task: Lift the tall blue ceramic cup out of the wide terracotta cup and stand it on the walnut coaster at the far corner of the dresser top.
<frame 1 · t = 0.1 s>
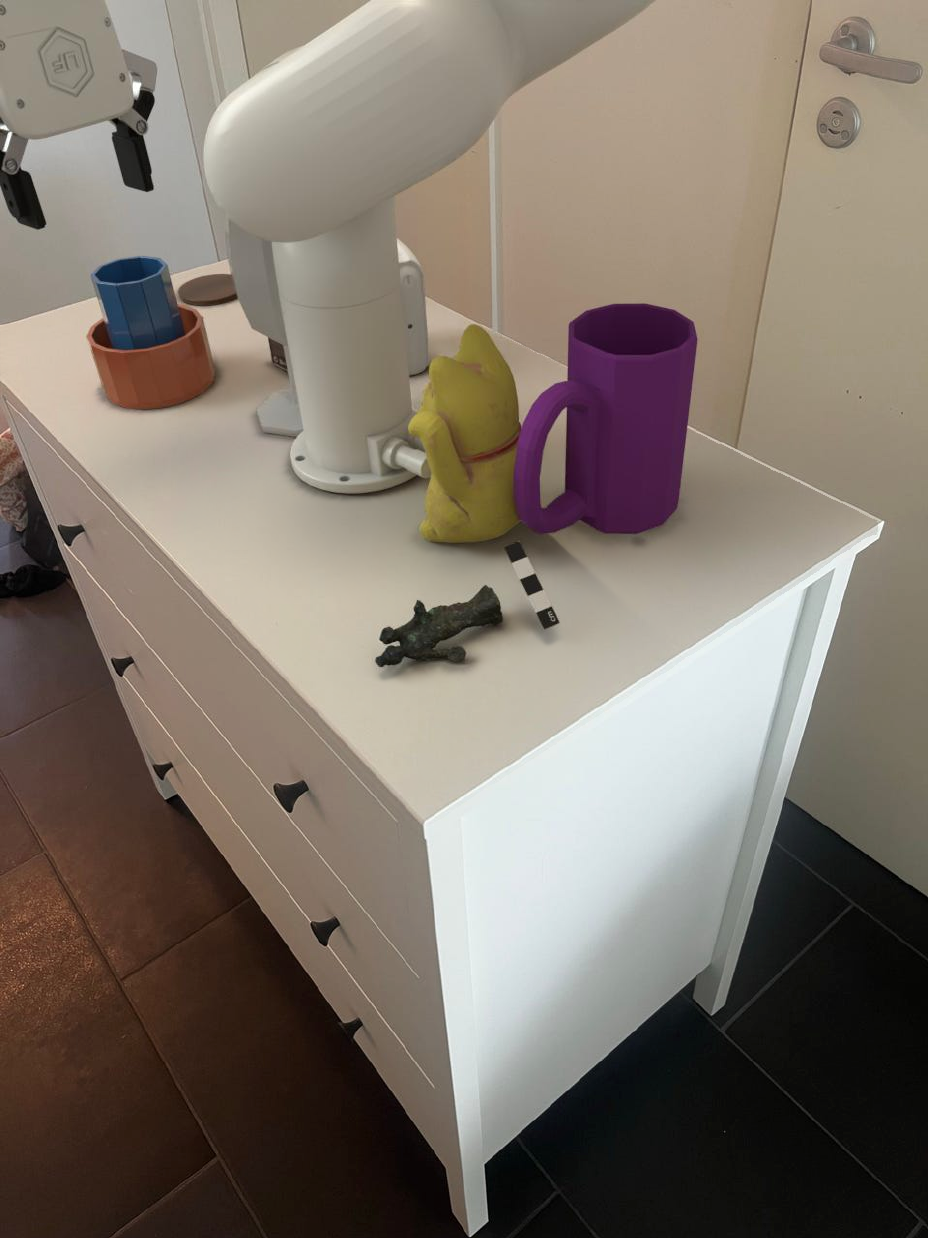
hand: (87, 206, 75), 21 cm above the dresser, tool pointing down, fingers open, 9 cm apart
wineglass: (303, 417, 92), on the dresser, touching arm
terracotta cup: (160, 382, 98), on the dresser
photo printer: (395, 357, 100), on the dresser
coaster: (213, 291, 115), on the dresser
figurine 2: (485, 528, 76), on the dresser, touching mug
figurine: (468, 649, 66), on the dresser
blue cup: (159, 377, 98), point 1 cm above the dresser, touching terracotta cup
box: (307, 362, 100), on the dresser
mug: (592, 523, 76), on the dresser, touching figurine 2
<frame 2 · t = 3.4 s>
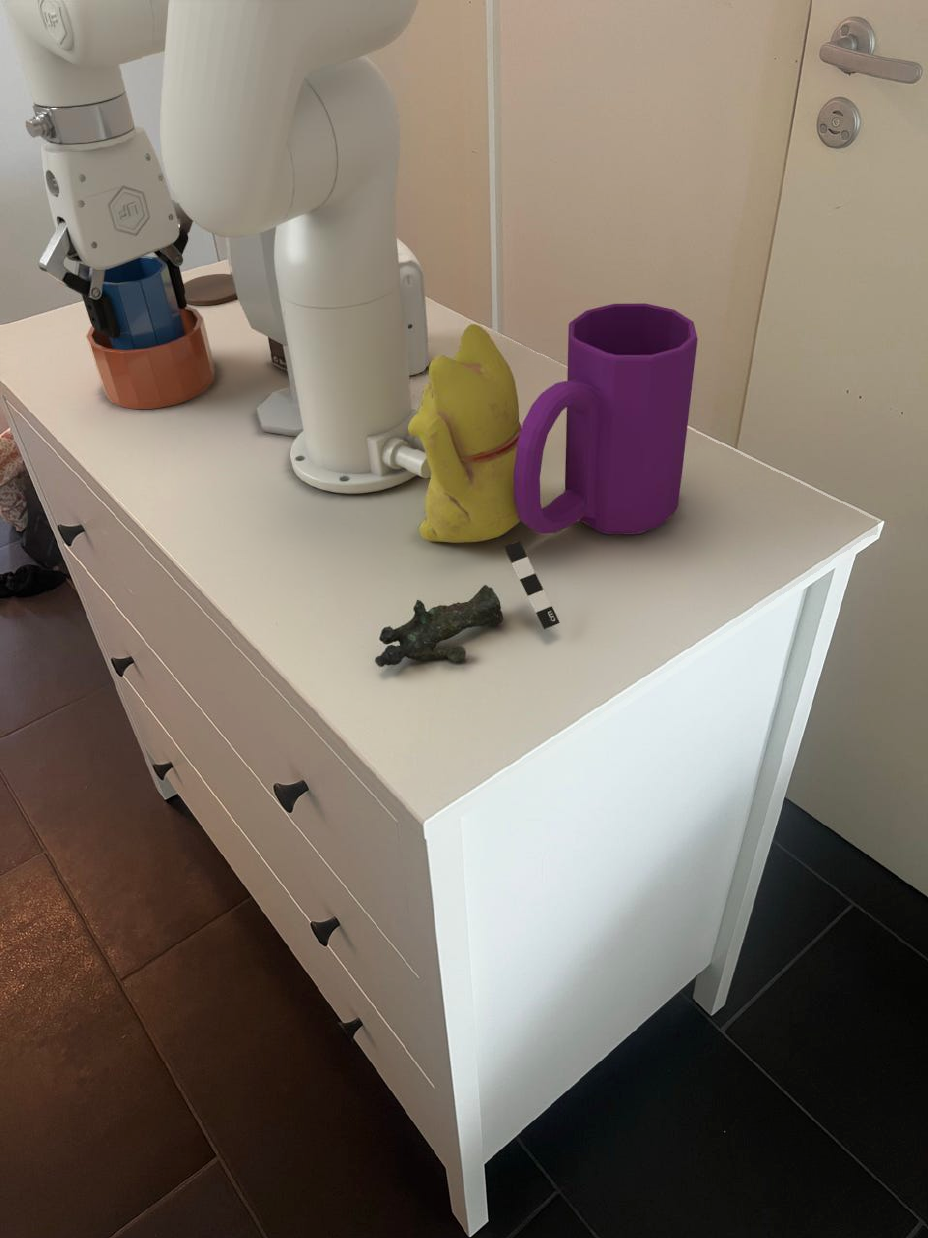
hand: (142, 317, 94), 7 cm above the dresser, tool pointing down, fingers closed on blue cup, 7 cm apart
blue cup: (159, 376, 98), point 1 cm above the dresser, touching gripper, terracotta cup
everything else where it was.
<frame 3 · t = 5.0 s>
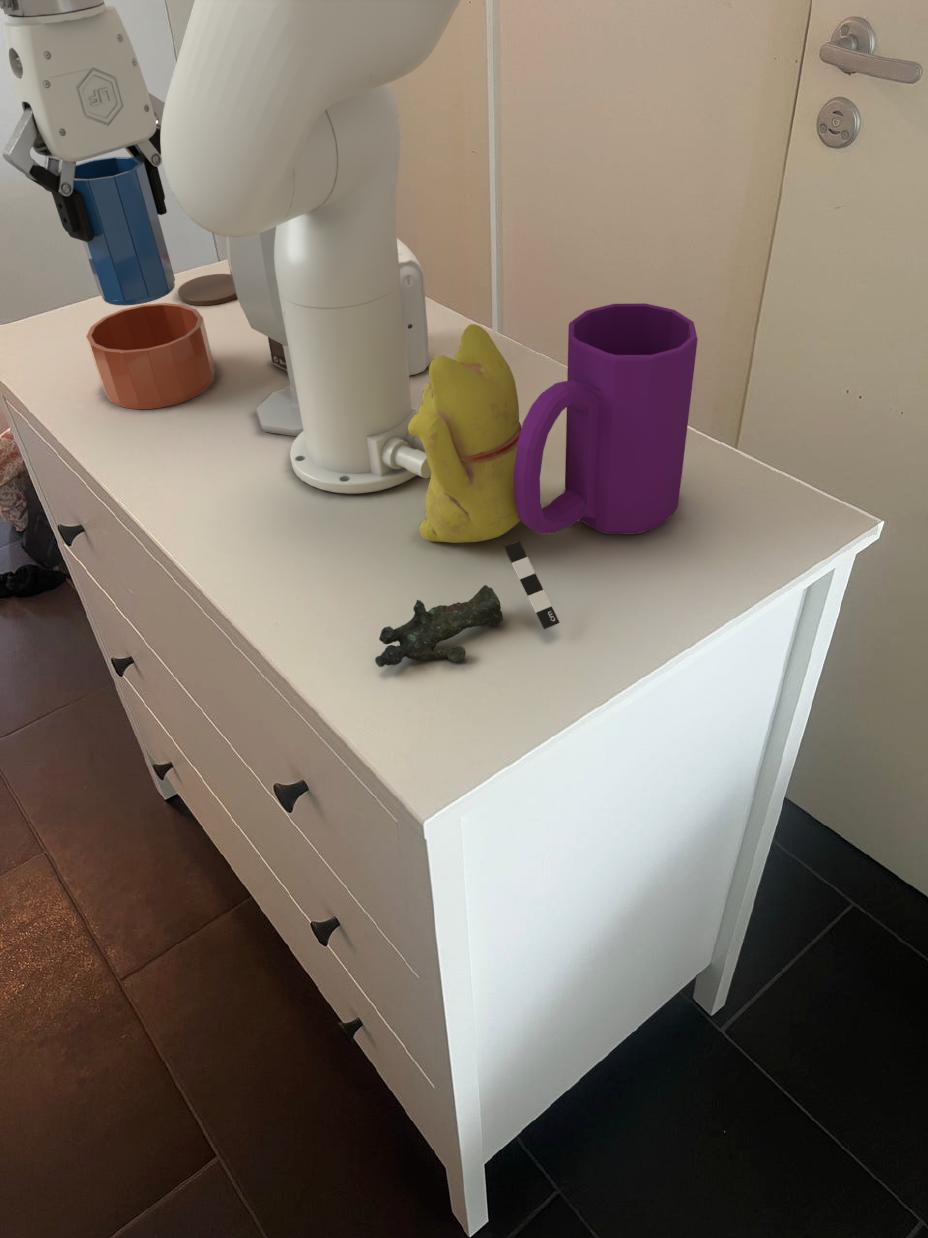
hand: (118, 223, 87), 16 cm above the dresser, tool pointing down, fingers closed on blue cup, 7 cm apart
blue cup: (138, 291, 91), point 10 cm above the dresser, touching gripper
everything else where it was.
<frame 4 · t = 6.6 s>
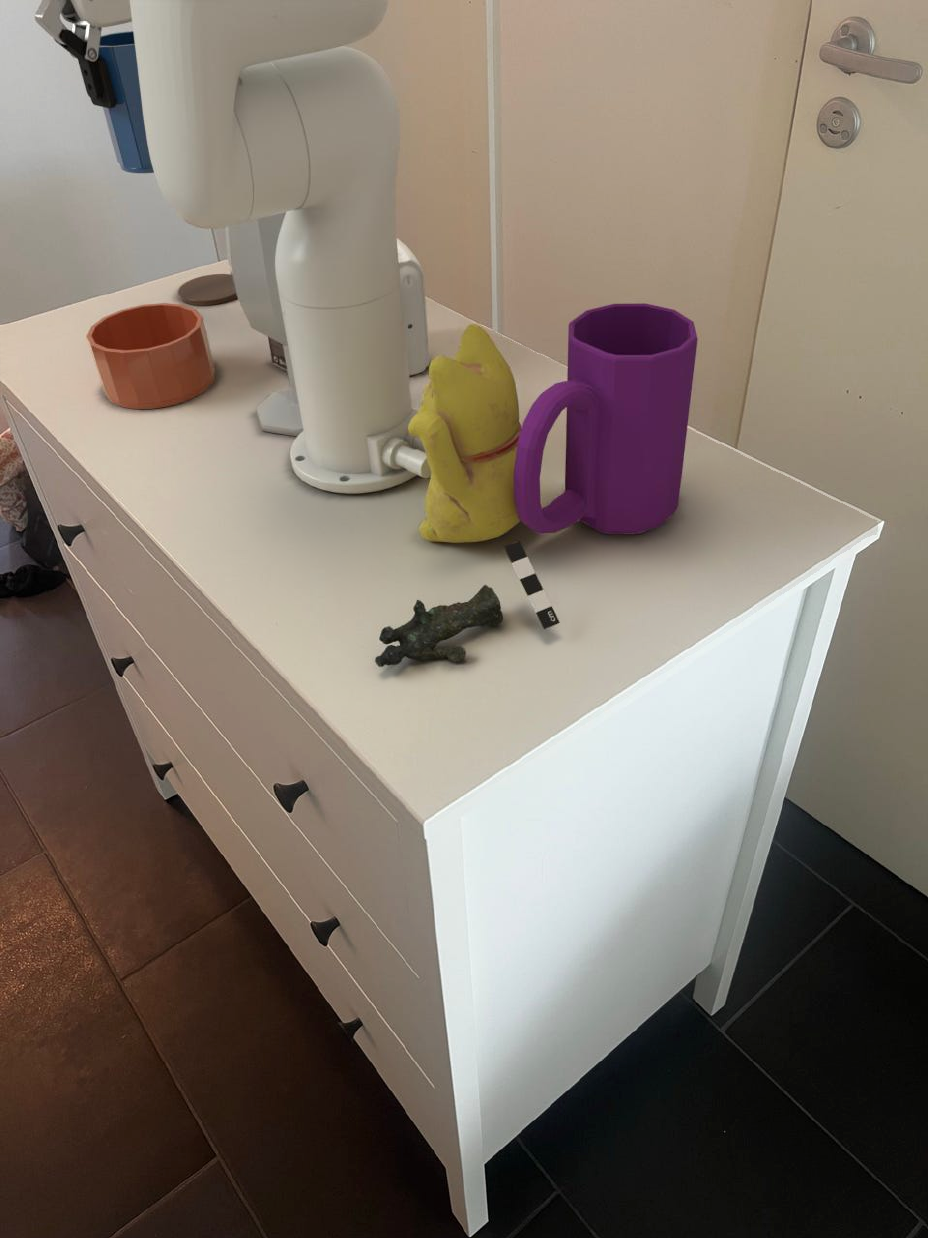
hand: (138, 94, 94), 23 cm above the dresser, tool pointing down, fingers closed on blue cup, 7 cm apart
blue cup: (154, 162, 98), point 17 cm above the dresser, touching gripper
everything else where it was.
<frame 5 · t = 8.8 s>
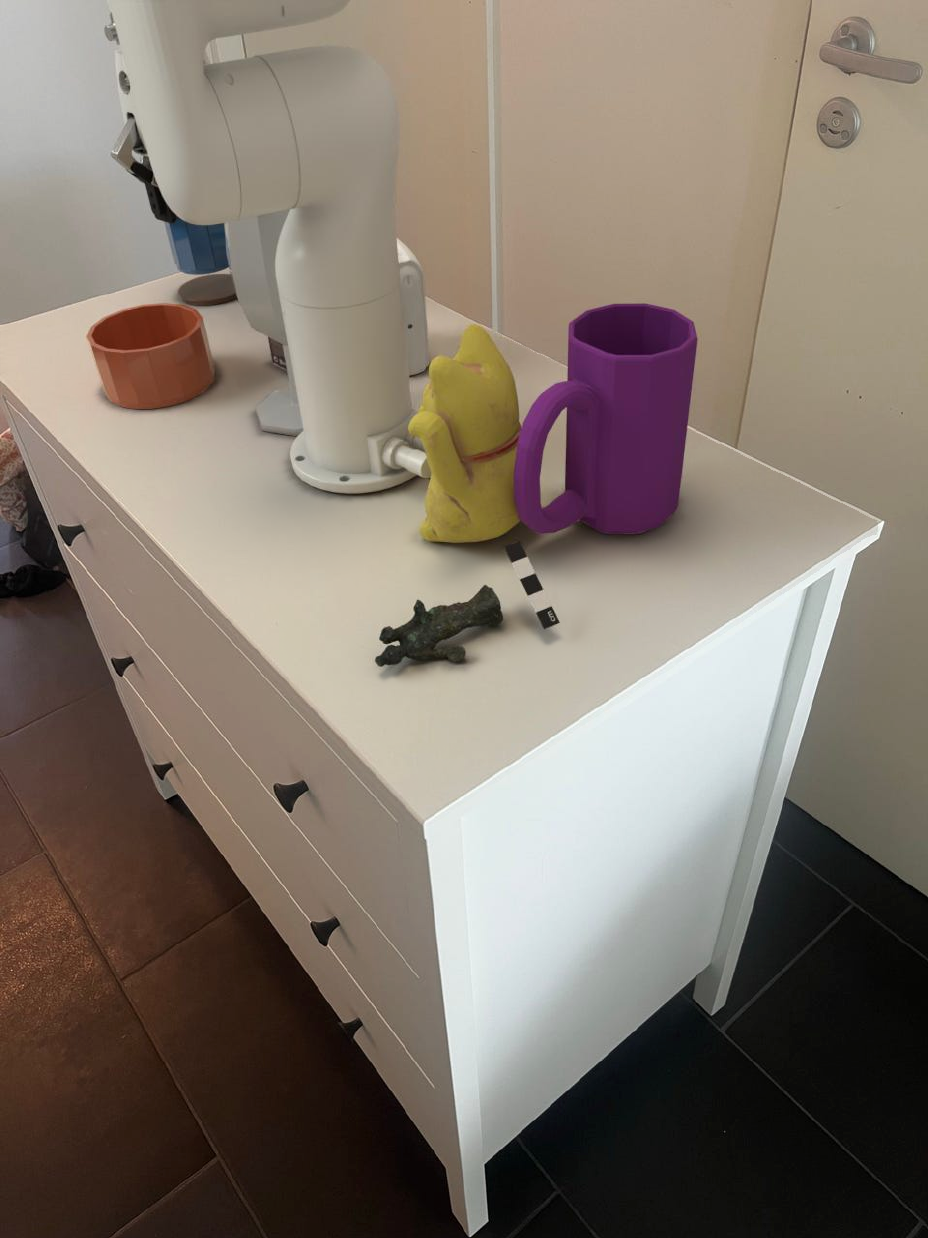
hand: (194, 208, 109), 10 cm above the dresser, tool pointing down, fingers closed on blue cup, 7 cm apart
blue cup: (206, 263, 113), point 3 cm above the dresser, touching gripper
everything else where it was.
when the fingers open (7 cm above the dresser, at t = 10.2 s): blue cup stays where it is, resting on coaster.
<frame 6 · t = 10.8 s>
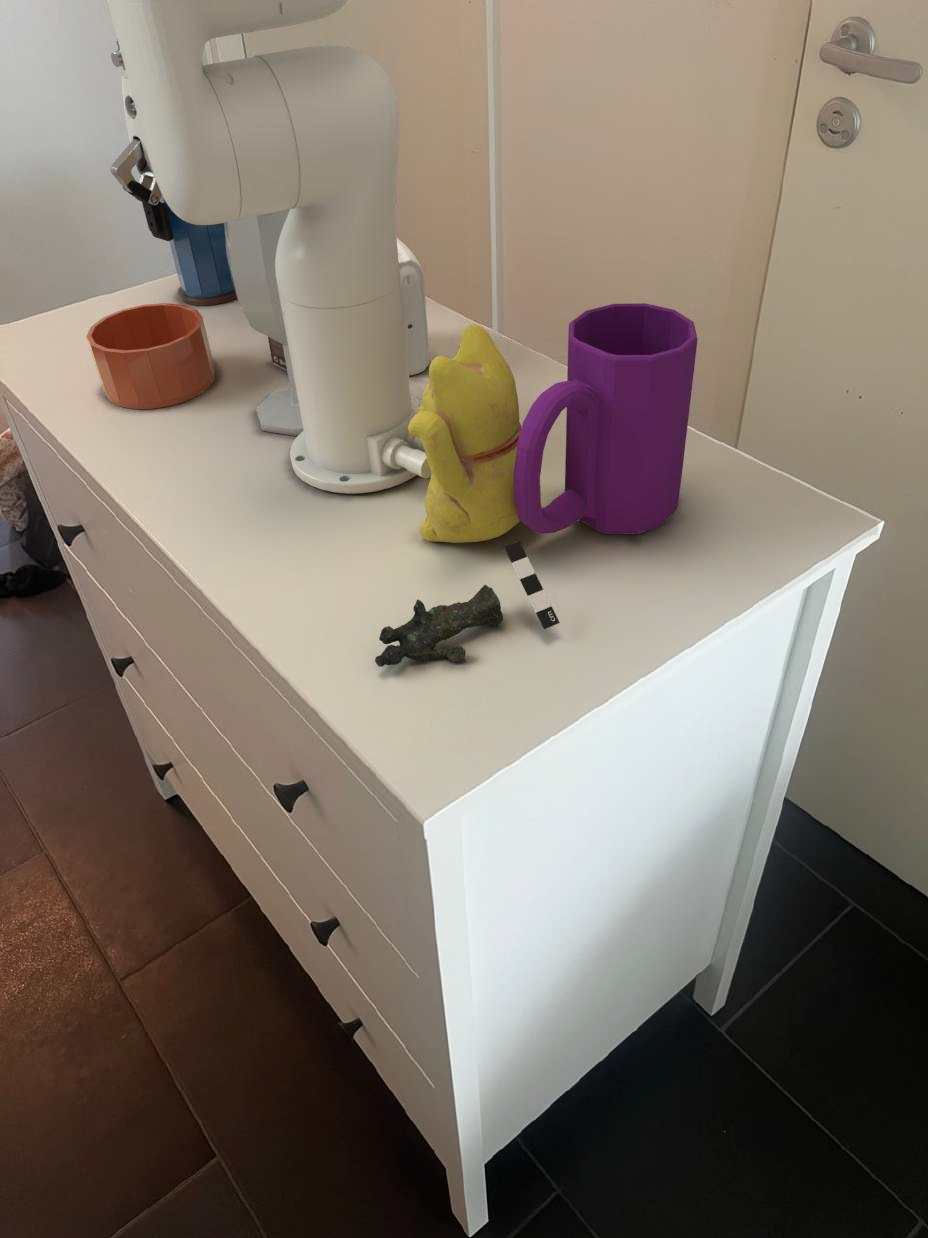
hand: (198, 224, 110), 8 cm above the dresser, tool pointing down, fingers open, 9 cm apart
blue cup: (211, 286, 115), point 1 cm above the dresser, touching coaster
everything else where it was.
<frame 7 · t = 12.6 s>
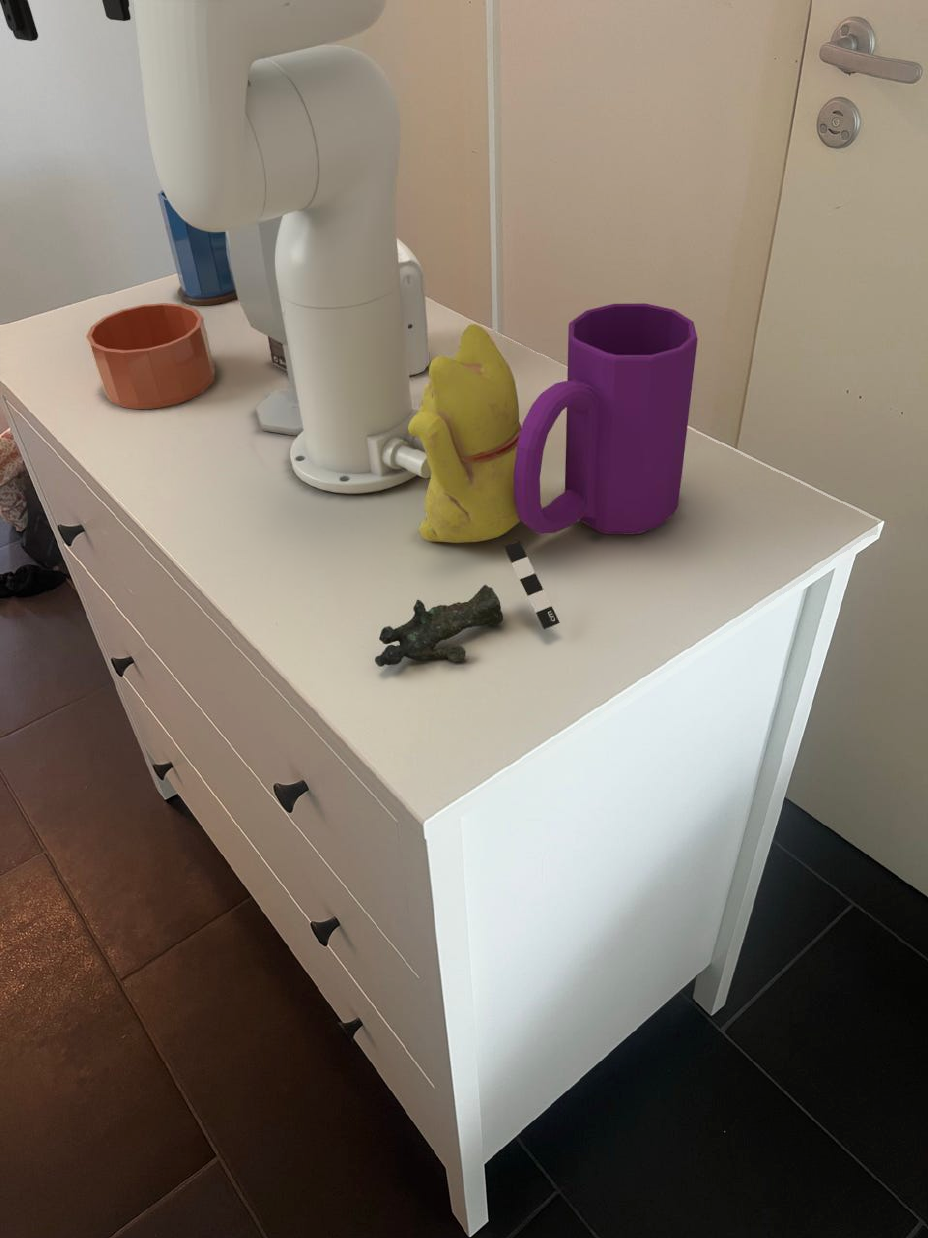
hand: (74, 28, 89), 29 cm above the dresser, tool pointing down, fingers open, 9 cm apart
nothing on the dresser moved.
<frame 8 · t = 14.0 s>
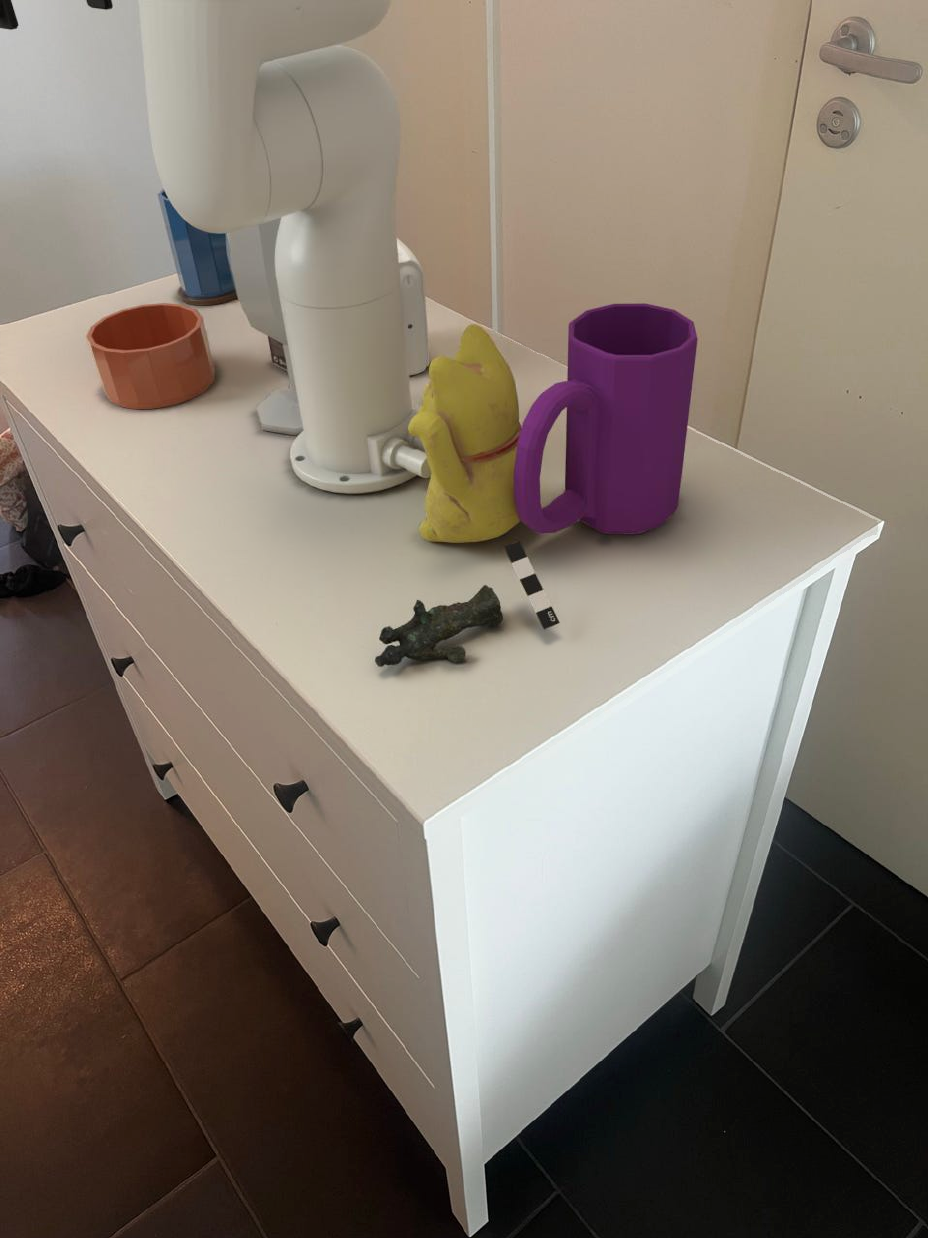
hand: (55, 17, 87), 30 cm above the dresser, tool pointing down, fingers open, 9 cm apart
nothing on the dresser moved.
at the end: blue cup 0.1 cm off-centre on the coaster, point 0.6 cm above the coaster's base; blue cup tilted 0°; blue cup touching coaster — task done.
